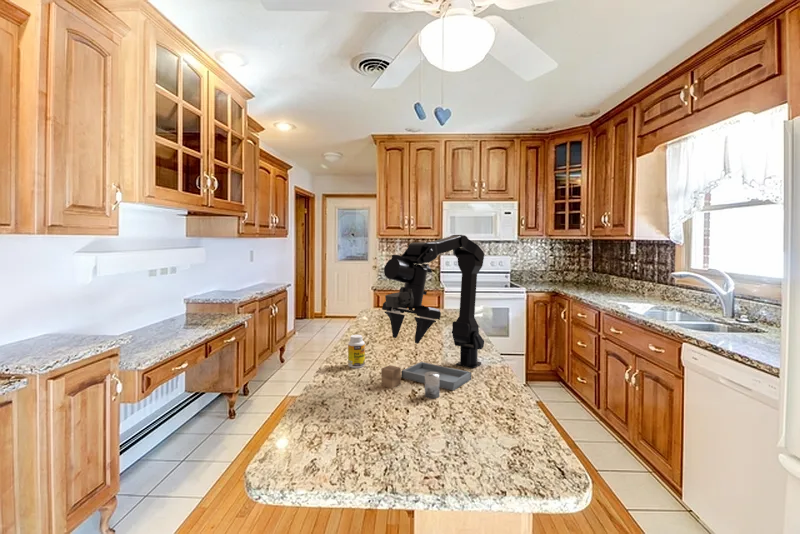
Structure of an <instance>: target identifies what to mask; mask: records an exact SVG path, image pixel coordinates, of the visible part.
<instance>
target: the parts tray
mask: <svg viewBox="0 0 800 534" xmlns="http://www.w3.org/2000/svg"><path fill="white" fill-rule="evenodd" d="M426 372H438V373H439V374H440V388H442V389H444V390H445V389H446V390H451V391H455V390H457V389H458V388H460V387H462V386H463V385H465V384H467V383H468V382H469V381H471V380H472V372H471V371H466V370H462V369H457V368H453V367H447V366H442V365H438V364H434V363H429V362H424V361H420V362H417V363H415V364H413V365H411V366H409V367H406V368H404V369H401V379H405V380H408V381H409V380H410V381H414V382H417V383H421V384H425V373H426Z"/></svg>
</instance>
